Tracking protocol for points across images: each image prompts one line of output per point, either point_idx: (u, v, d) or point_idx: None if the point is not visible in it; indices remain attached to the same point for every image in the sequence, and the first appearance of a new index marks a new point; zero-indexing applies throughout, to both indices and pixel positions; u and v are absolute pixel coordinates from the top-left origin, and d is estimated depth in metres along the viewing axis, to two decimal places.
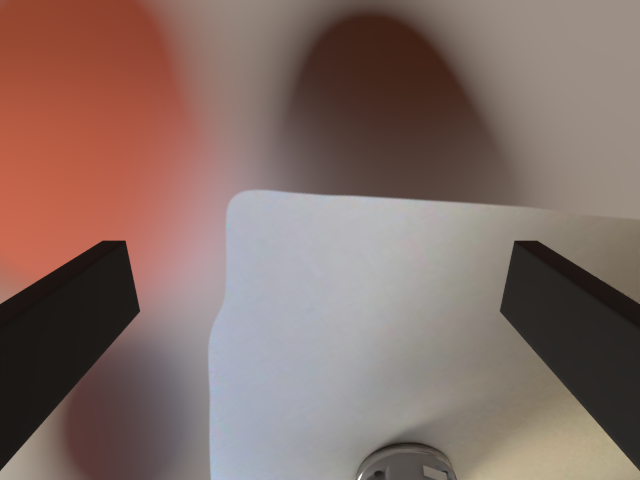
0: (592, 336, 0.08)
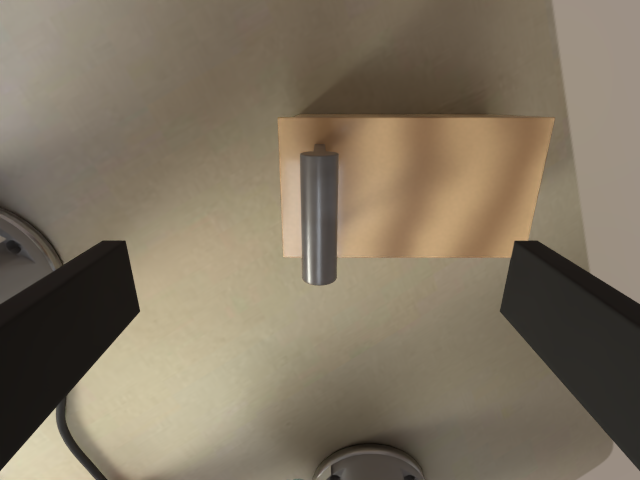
0: (592, 336, 0.08)
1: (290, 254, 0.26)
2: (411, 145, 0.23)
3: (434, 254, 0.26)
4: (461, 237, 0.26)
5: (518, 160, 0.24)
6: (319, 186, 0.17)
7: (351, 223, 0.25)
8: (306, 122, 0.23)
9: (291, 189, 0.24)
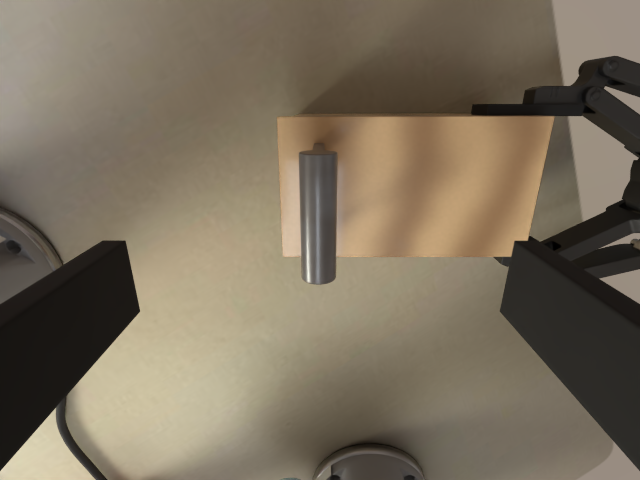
0: (592, 336, 0.08)
1: (290, 253, 0.26)
2: (410, 144, 0.23)
3: (434, 253, 0.26)
4: (461, 236, 0.26)
5: (518, 159, 0.24)
6: (317, 185, 0.17)
7: (351, 222, 0.25)
8: (305, 121, 0.23)
9: (290, 188, 0.24)
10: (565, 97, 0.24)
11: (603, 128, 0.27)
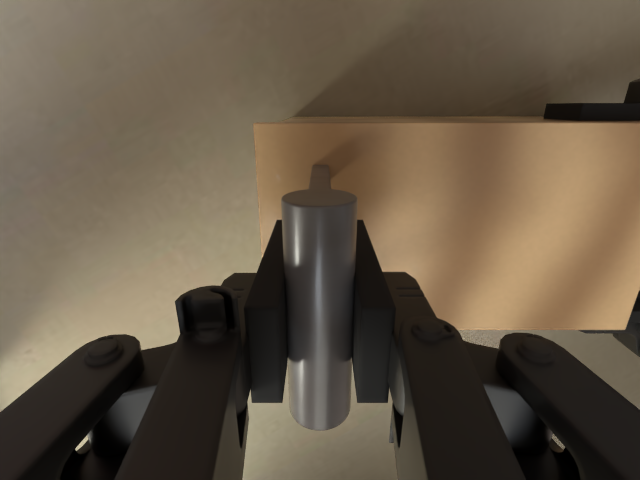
0: None
1: None
2: (465, 166, 0.15)
3: (491, 325, 0.18)
4: (533, 302, 0.17)
5: (632, 189, 0.15)
6: (318, 265, 0.09)
7: None
8: (299, 131, 0.14)
9: None
10: None
11: None
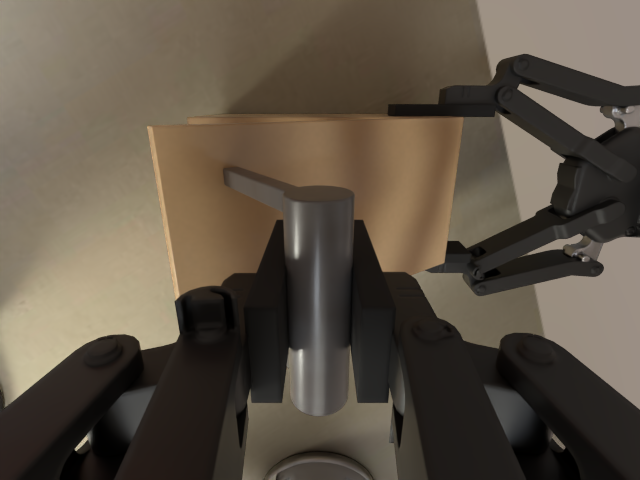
0: None
1: None
2: (347, 157, 0.17)
3: None
4: (398, 258, 0.22)
5: (439, 164, 0.22)
6: (339, 254, 0.09)
7: None
8: (205, 133, 0.13)
9: (191, 247, 0.14)
10: (478, 97, 0.23)
11: (525, 129, 0.26)
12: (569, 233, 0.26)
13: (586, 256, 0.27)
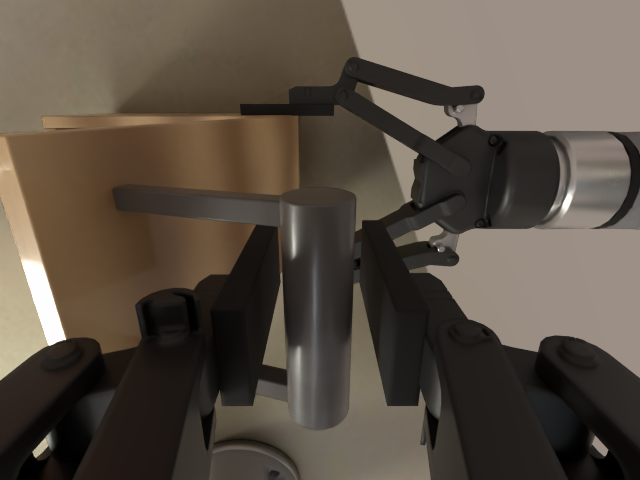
0: (376, 290, 0.10)
1: None
2: (227, 161, 0.16)
3: None
4: None
5: (288, 161, 0.23)
6: (353, 253, 0.09)
7: None
8: (85, 142, 0.09)
9: (87, 306, 0.10)
10: (319, 97, 0.25)
11: None
12: (418, 225, 0.27)
13: (441, 247, 0.29)
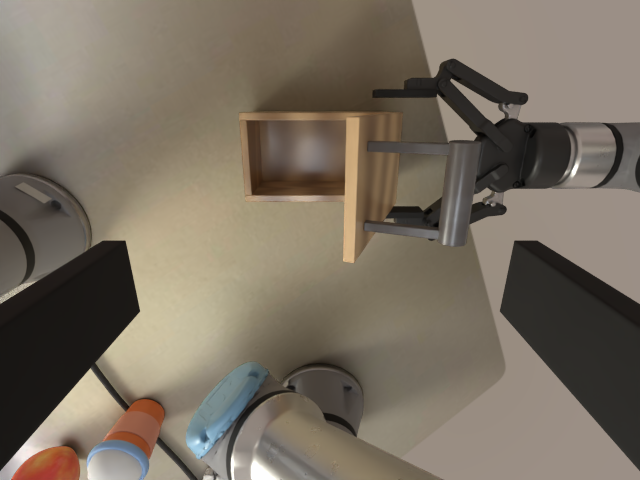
0: (592, 336, 0.08)
1: (356, 257, 0.26)
2: (385, 136, 0.30)
3: (385, 216, 0.35)
4: (389, 199, 0.36)
5: (398, 140, 0.37)
6: None
7: (372, 209, 0.29)
8: (366, 121, 0.23)
9: (359, 190, 0.24)
10: (426, 85, 0.38)
11: (455, 110, 0.41)
12: (479, 189, 0.41)
13: (493, 202, 0.42)
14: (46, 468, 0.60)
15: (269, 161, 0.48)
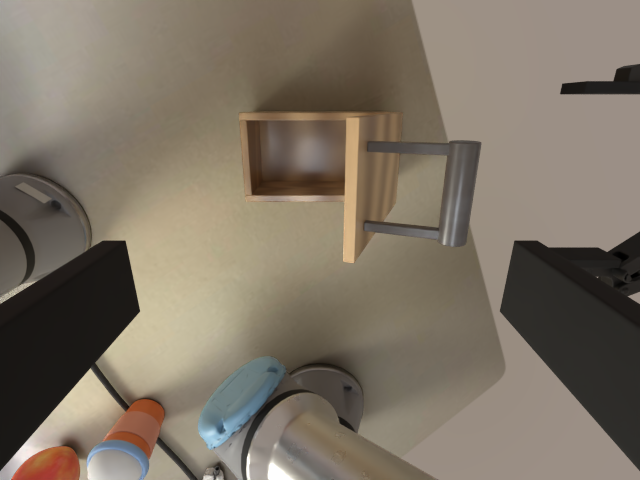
0: (592, 336, 0.08)
1: (356, 257, 0.26)
2: (385, 136, 0.30)
3: (384, 216, 0.35)
4: (389, 199, 0.36)
5: (398, 140, 0.37)
6: (477, 165, 0.23)
7: (372, 209, 0.29)
8: (366, 121, 0.23)
9: (359, 190, 0.24)
10: None
11: None
12: None
13: None
14: (46, 468, 0.60)
15: (269, 161, 0.48)
